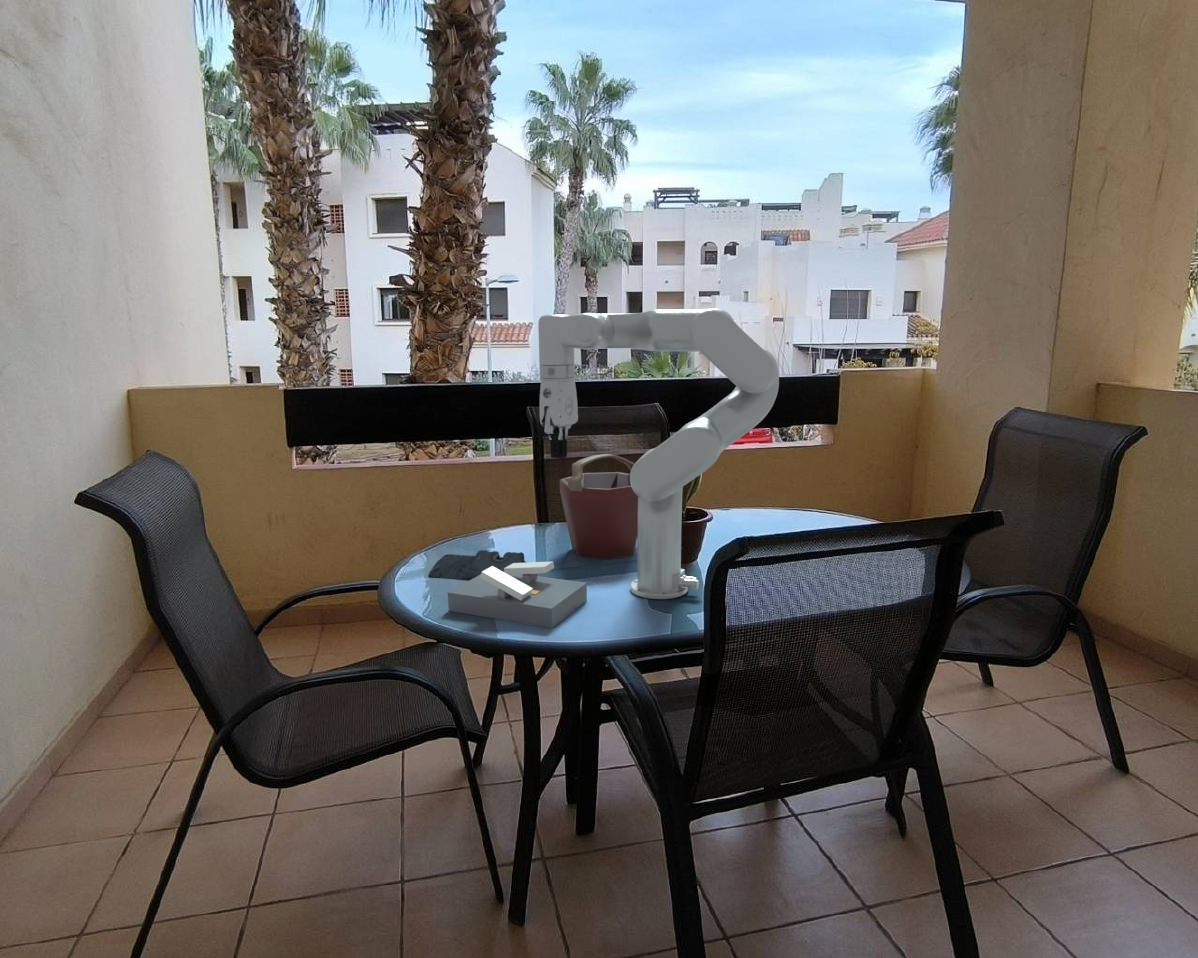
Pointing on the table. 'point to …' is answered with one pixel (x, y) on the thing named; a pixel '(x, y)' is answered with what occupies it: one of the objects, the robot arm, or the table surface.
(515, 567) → the back rocker
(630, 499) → the bucket
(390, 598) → the table surface
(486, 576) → the front rocker
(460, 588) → the switch box
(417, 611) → the table surface
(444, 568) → the dark slate chunk
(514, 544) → the table surface
